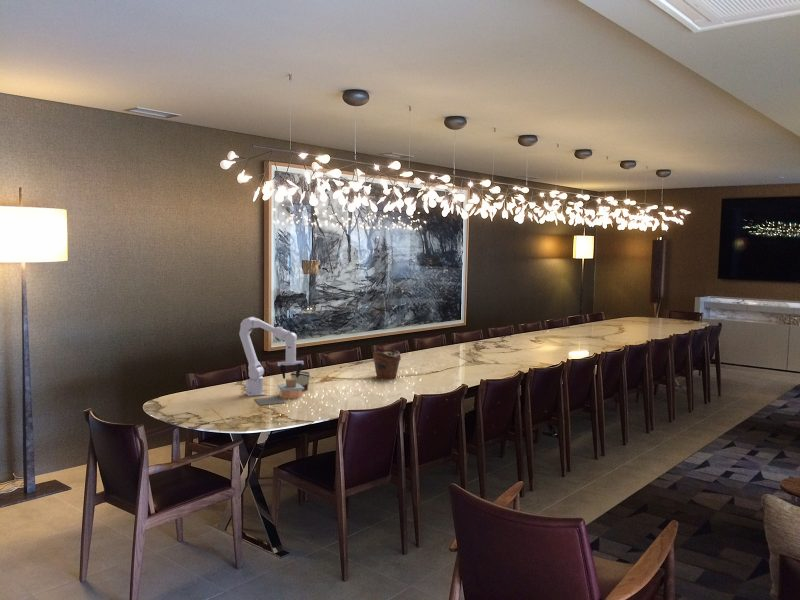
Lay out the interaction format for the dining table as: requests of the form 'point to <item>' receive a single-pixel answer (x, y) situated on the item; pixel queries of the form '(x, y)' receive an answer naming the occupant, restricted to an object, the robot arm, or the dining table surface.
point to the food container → (301, 378)
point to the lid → (290, 385)
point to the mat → (269, 401)
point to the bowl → (291, 394)
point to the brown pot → (386, 363)
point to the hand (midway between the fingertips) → (290, 377)
